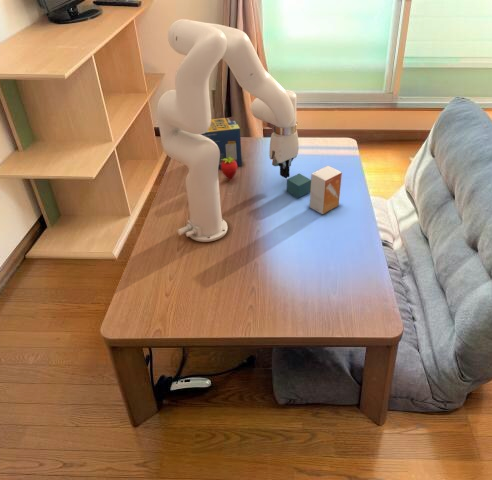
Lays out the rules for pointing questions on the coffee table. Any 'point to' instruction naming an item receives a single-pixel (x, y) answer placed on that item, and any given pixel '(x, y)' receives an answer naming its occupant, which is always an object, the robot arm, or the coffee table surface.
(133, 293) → the coffee table surface
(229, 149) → the protein box
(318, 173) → the small box
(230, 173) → the strawberry
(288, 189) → the teal block
